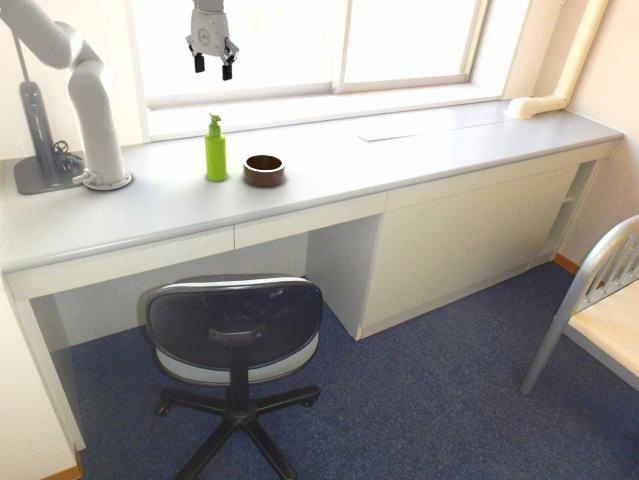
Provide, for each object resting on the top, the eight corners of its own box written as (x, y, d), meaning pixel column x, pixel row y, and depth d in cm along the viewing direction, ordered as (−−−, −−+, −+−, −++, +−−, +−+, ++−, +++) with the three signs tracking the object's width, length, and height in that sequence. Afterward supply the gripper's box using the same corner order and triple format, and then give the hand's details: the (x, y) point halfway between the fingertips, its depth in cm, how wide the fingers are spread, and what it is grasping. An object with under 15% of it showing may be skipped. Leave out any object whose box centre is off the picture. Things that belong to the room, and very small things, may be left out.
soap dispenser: (211, 184, 133) (207, 119, 121) (205, 173, 138) (200, 110, 126) (230, 181, 135) (228, 117, 124) (223, 171, 140) (220, 109, 129)
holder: (267, 192, 132) (268, 175, 129) (235, 179, 137) (234, 162, 133) (291, 177, 141) (292, 161, 138) (260, 165, 146) (260, 150, 142)
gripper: (173, 0, 110) (179, 71, 120) (226, 11, 104) (229, 85, 113) (194, -2, 116) (199, 66, 125) (246, 9, 109) (247, 80, 119)
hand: (213, 75), depth 119 cm, fingers open, 9 cm apart
